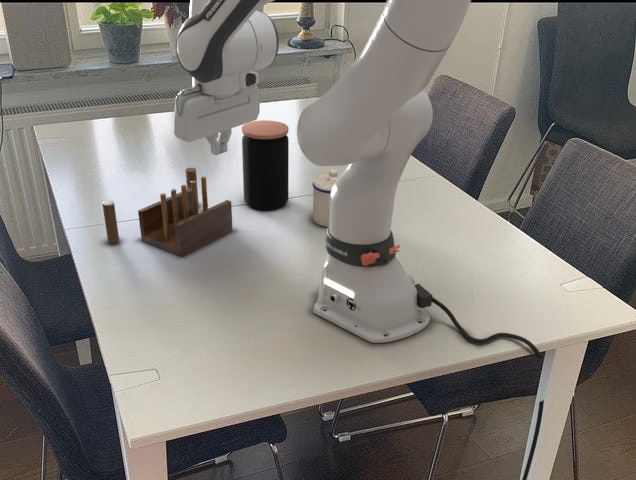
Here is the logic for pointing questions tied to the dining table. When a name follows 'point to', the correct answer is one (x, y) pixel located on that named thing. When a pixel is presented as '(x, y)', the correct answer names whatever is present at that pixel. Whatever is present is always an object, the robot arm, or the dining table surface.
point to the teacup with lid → (323, 197)
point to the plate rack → (184, 221)
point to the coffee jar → (265, 164)
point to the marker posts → (111, 214)
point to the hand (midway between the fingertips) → (219, 152)
